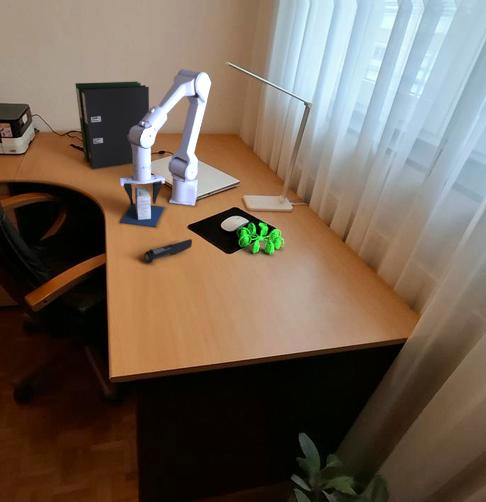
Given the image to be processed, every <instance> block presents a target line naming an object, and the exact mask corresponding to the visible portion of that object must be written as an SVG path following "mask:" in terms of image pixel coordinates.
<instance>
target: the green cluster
mask: <svg viewBox="0 0 486 502" xmlns="http://www.w3.org/2000/svg"><path fill="white" fill-rule="evenodd" d="M258 227H259V228H260V231H259V234H257V233H256V232H257V231H256V225H255V224H254V223H253V222H249V223H248V224H247V227H243V226H242V227H239V228H237V231H236V235H237V237H238V242H237V243H238V245H239V247H241V248H245V247H248V246H249V245H250V244H251V242H252V241H253V243H252V244H251V252H252V254H256V253H258V252H259V250H260V242H262V243H264V252H265V253H266V254H267V255H273V254H274V252H275V249H276V250H280V249H282V248H283V247H284V246H285V240H284V238H282V237H281V236H282V232H281V230H280V229H278V228H275V229H273V230H271V231H270V232H269V234H268V230H269V227H268V223H266V222H265V223H264V222H259V224H258ZM239 231H240V232H239ZM267 234H268V235H267ZM252 237H253V238H252ZM267 238H268V239H267ZM254 240H255V241H254ZM259 241H260V242H259ZM281 244H282V246H281Z"/></svg>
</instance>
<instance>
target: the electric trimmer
mask: <svg viewBox="0 0 486 502" xmlns="http://www.w3.org/2000/svg"><path fill="white" fill-rule="evenodd" d="M192 245H193V240H192V238H189V239H185V240H182V241H178V242H175V243H172V244H167V245H163V246H160V247H156V248H153V249H149V250H148V251H145V252H144V254H143V256H142V258H143V261H144V262H145V263H146V264H151V263H153V261H155V260H158V259H160V258H163V257H166V256H169V255H178V254H180V253H182V252H184V251H186V250H188V249H190V248H192Z"/></svg>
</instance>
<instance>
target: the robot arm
mask: <svg viewBox="0 0 486 502" xmlns="http://www.w3.org/2000/svg"><path fill="white" fill-rule="evenodd" d="M211 85H212V82H211V79H210V77H209V75H208V74H207V72H204V71H202V72H201V71H197V70H191V69H187V68H180V70H178V72H177V74H176V75H175V76H174V77H173V84H172V85H171V86H170V88H169V89H168V91H167V92H166V93H165V95H164V97H163V98H162V99H161V101H160V102H159V104H158V105H153V106H151V107H149V110H148V111H149V112H148V113H147V114H146V115H145V117H144V118H143V119H142V120H141V121H140V122H139V124H138V125H136V126H133V127H132V128H131V129H130V131H129V135H127V137H128V140H129V142H130V143H131V148H132V154H133V163H132V173H133V174H132V175H131V176H125V177H119V185H120V187H123V189H124V191H125V192H126V194H127V197H128V199H129V204H130V206H132V205H133V203H134V200H133V186H132V185H147V184H152V185H151V186H152V196H151V197H152V198H151V199H152V204H153V205H155V204H156V203H157V199H158V196H159V193H160V192H161V190H162V188H163V184H165V182H166V177H165V176H164V175H157V174H156V175H155V174H152V146H153V145H154V144H155V142H156V141H155V140H156V136H157V134H158V132H159V130H160V129H161V128H162V127H163V125H164V124H165V123H166V121H167V120H168V113H169V112H170V111H171V110H172V109H173V108H174V106H176V105H177V104H178V103H179V102H180V100H181V99H182V98H183V97H186V98H187V100H188V103H189V104H188V109H187V112H186V113H187V114H186V118H185V123H184V127H183V130H182V135H181V139H180V144H179V148H178V149H177V150H176V151H174V152H173V153H172V157H171V158H170V160H169V162H168V165H167V167H168V171H169V172H170V174H171V177H172V183H171V185H172V187H171V197H170V199H169V204H176V205H177V204H178V205H185V206H195V205H196V202H197V199H198V188H199V187H198V186H199V179H197V178H196V177H197V175H198V164H199V159H198V158H197V156H196V154H195V150H196V147H197V142H198V138H199V134H200V130H201V126H202V122H203V119H204V114H205V111H206V107H207V102H208V97H209V94H210V93H209V92H210V89H211Z"/></svg>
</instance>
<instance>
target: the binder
mask: <svg viewBox="0 0 486 502" xmlns="http://www.w3.org/2000/svg"><path fill="white" fill-rule="evenodd" d="M74 84H75V92H76V100H77V101H76V102H77V108H78V115H79V116H78V117H79V122H80V123H79V125H80V134H81V141H82V149H83V157H84V160H85V161H86V162H87V163H89V166H90V167H91V169H92V170H96V169H104V168H110V167H116V166H123V165H130V164H133V154H132V148H131V143H130V142H129V140H128V137H127V135H129V131H130V129H131V128H132V127H133V126H136V125H138V124H139V122H140V121H141V120H142V119H143V118H144V117H145V115H146V114H147V113H148V112H149V111H148V110H149V109H150V86H147V85H146V84H145V85H144V84H143V85H141V84H142V83H141V82H138V81H111V82H110V81H109V82H108V81H107V82H76V83H74Z"/></svg>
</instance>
